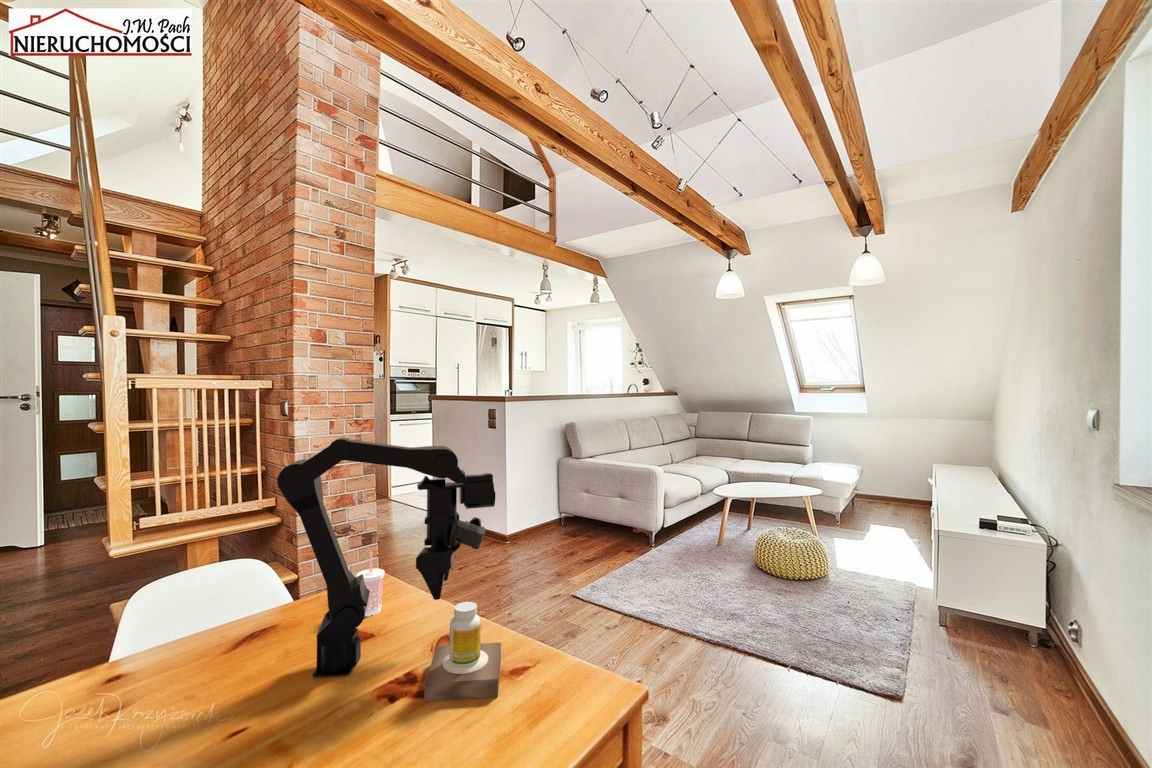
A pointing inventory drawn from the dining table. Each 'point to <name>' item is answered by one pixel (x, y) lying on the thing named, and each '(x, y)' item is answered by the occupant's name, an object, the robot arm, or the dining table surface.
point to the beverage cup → (373, 588)
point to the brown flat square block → (463, 675)
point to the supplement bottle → (465, 635)
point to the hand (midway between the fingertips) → (441, 589)
